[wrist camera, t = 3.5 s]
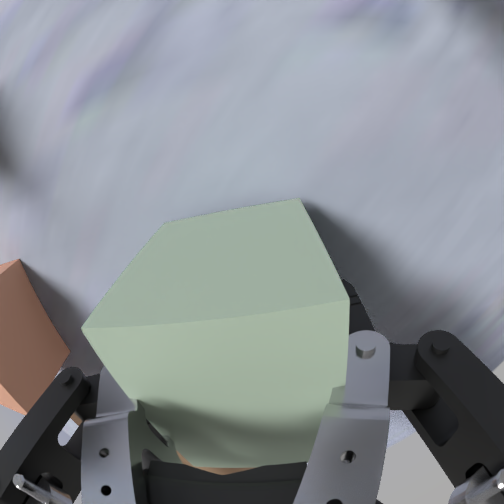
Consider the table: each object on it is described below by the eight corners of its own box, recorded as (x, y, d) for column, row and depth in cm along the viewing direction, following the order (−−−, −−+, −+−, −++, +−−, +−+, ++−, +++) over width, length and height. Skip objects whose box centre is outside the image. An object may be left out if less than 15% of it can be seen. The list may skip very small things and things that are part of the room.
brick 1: (20, 258, 12) (-45, 316, 6) (71, 350, 15) (32, 418, 9) (-13, 268, 12) (-65, 316, 7) (31, 348, 15) (-4, 402, 10)
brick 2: (299, 197, 9) (349, 298, 4) (314, 343, 12) (335, 458, 7) (164, 222, 10) (80, 328, 5) (212, 356, 13) (193, 466, 8)
